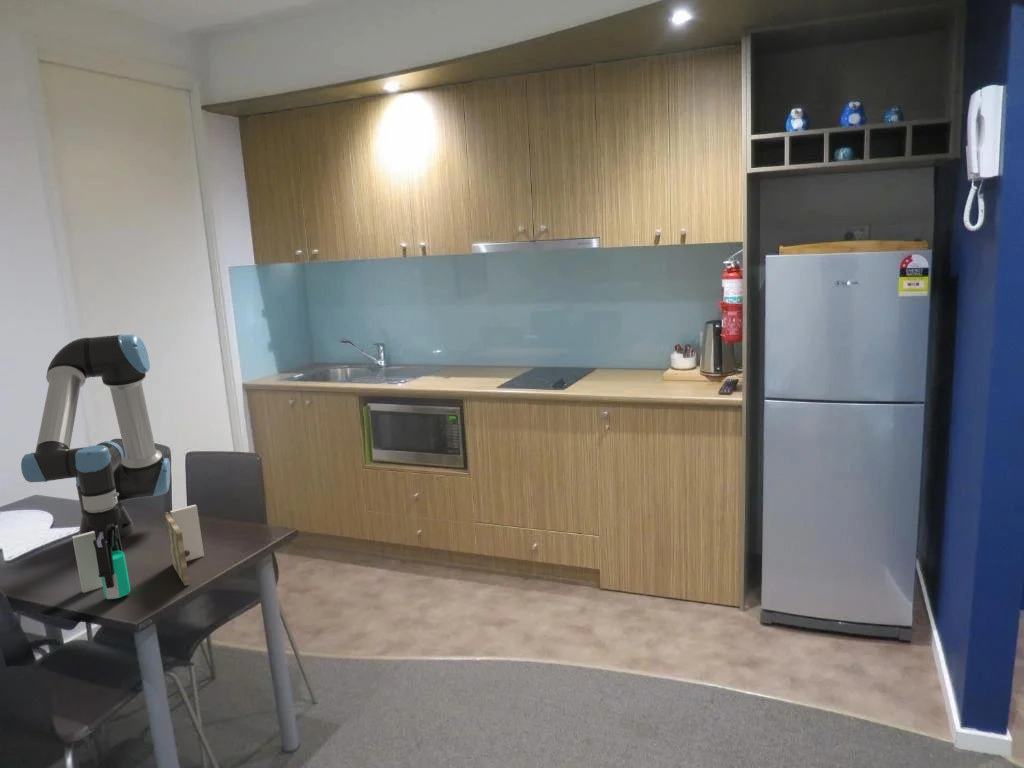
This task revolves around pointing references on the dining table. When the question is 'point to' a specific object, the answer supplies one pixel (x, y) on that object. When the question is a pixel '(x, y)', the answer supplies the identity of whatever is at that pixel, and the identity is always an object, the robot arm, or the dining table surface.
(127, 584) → the candle
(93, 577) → the door frame
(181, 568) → the door
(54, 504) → the dining table surface
